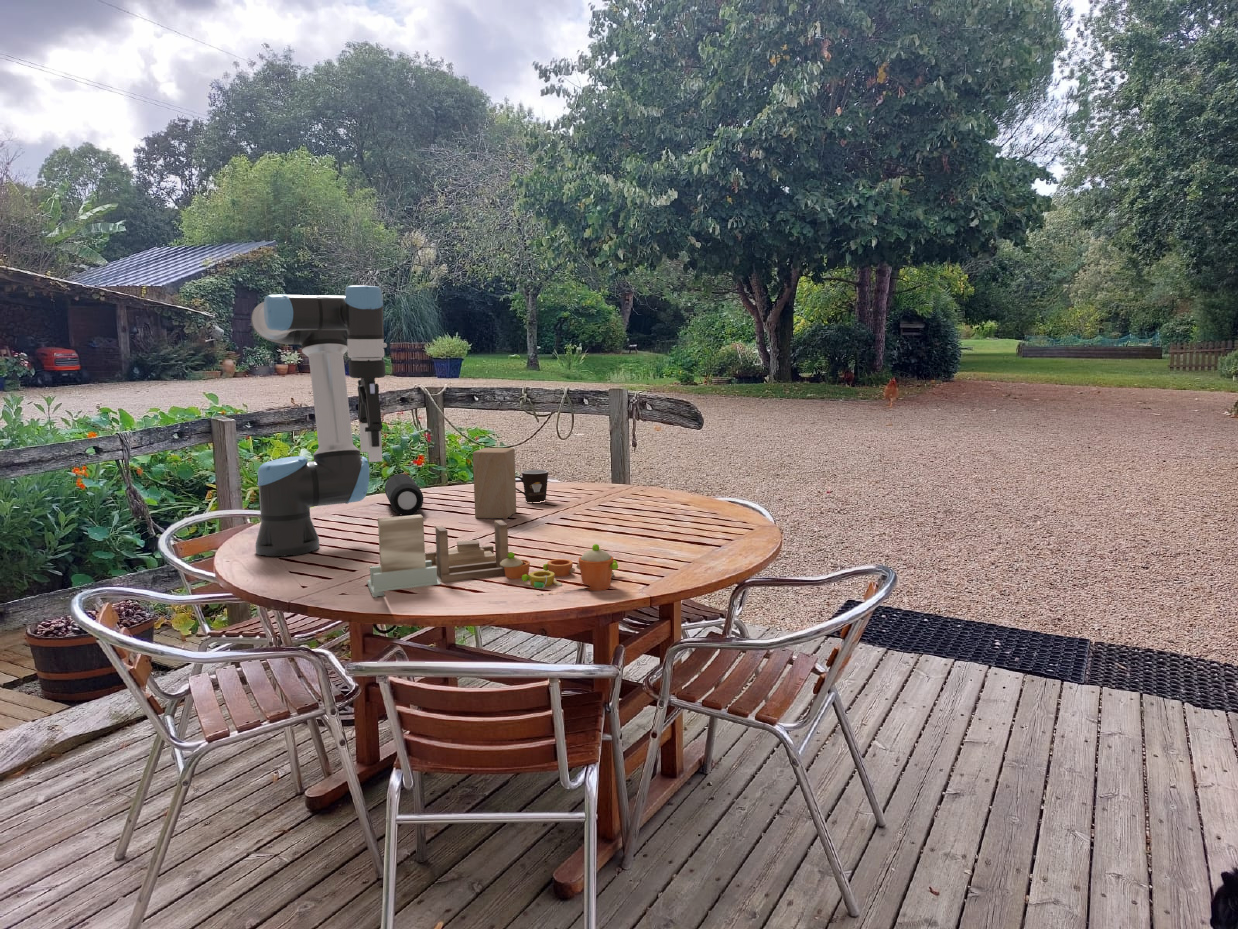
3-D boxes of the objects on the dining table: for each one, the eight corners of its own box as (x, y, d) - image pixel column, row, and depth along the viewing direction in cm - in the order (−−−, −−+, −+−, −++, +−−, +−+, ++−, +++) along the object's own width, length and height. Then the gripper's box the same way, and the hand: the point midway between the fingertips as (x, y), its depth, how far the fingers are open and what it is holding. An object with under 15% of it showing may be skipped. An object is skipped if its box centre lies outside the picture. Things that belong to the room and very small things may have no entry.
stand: (367, 585, 181) (366, 565, 181) (432, 577, 187) (431, 558, 186) (373, 597, 172) (372, 577, 171) (441, 589, 178) (440, 569, 177)
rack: (425, 567, 194) (423, 516, 193) (492, 560, 200) (491, 510, 199) (440, 587, 178) (437, 532, 177) (512, 578, 185) (511, 525, 183)
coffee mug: (552, 499, 275) (551, 470, 274) (544, 504, 267) (543, 474, 266) (519, 498, 278) (518, 469, 277) (510, 503, 270) (509, 473, 268)
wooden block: (516, 512, 256) (515, 447, 253) (506, 519, 246) (504, 452, 243) (485, 511, 258) (483, 447, 255) (474, 518, 248) (472, 451, 245)
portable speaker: (385, 503, 273) (383, 473, 272) (415, 501, 276) (414, 471, 275) (391, 519, 249) (389, 486, 248) (425, 516, 253) (423, 483, 251)
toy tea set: (615, 571, 191) (614, 530, 189) (626, 591, 175) (625, 547, 174) (499, 578, 187) (498, 536, 185) (501, 599, 172) (499, 553, 170)
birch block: (381, 582, 179) (377, 518, 177) (423, 577, 182) (420, 514, 180) (383, 586, 176) (379, 521, 174) (426, 581, 179) (423, 517, 177)
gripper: (393, 362, 169) (398, 464, 173) (376, 355, 192) (380, 446, 196) (355, 362, 166) (360, 467, 170) (342, 356, 189) (347, 448, 193)
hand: (371, 456), depth 183 cm, fingers open, 13 cm apart
